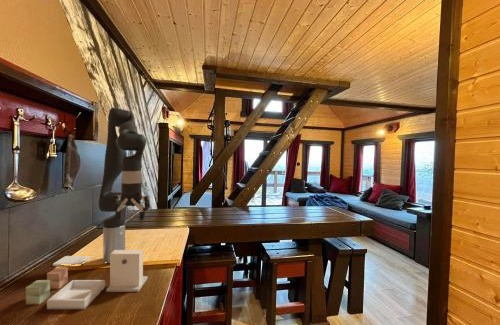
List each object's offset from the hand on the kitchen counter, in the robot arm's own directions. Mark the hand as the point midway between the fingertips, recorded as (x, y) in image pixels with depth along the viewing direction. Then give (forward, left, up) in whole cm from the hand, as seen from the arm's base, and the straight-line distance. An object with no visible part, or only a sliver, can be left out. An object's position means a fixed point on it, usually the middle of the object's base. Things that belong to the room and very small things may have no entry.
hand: (131, 220), depth 97 cm
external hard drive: (-14, -33, -26) cm, 44 cm away
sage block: (+14, -26, -25) cm, 39 cm away
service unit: (+5, +1, -25) cm, 25 cm away
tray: (+13, -13, -25) cm, 31 cm away
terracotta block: (+5, -26, -25) cm, 36 cm away
